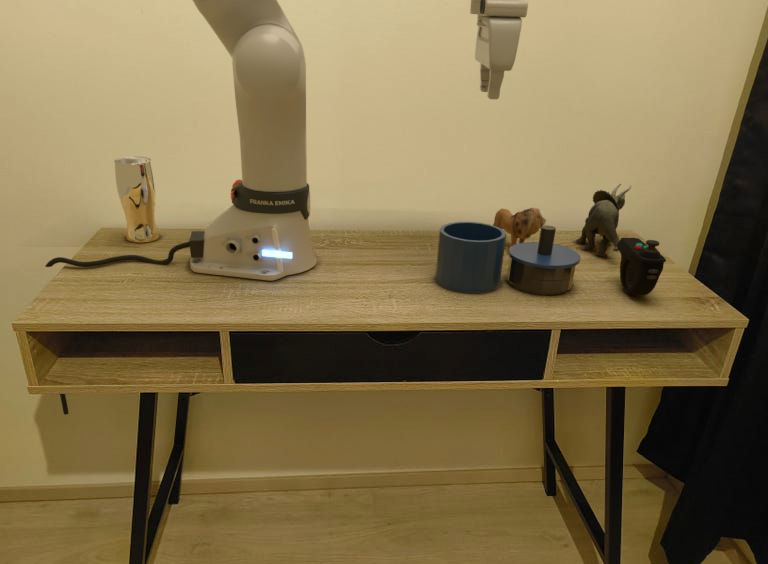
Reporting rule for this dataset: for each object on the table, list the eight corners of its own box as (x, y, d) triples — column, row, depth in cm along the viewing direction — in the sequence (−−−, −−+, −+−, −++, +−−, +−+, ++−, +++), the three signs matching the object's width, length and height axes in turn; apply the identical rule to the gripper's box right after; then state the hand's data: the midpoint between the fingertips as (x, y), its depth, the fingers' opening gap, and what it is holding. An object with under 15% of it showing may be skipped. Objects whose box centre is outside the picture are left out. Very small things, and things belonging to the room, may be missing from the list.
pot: (438, 292, 114) (442, 240, 109) (433, 268, 123) (437, 220, 119) (503, 294, 114) (510, 243, 109) (494, 271, 123) (500, 222, 119)
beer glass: (133, 231, 137) (123, 155, 130) (166, 233, 136) (158, 157, 129) (118, 242, 131) (106, 162, 124) (152, 244, 130) (142, 165, 123)
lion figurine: (544, 254, 132) (552, 209, 128) (525, 259, 130) (532, 212, 125) (492, 233, 143) (498, 191, 139) (473, 237, 140) (478, 194, 136)
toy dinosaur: (615, 270, 126) (628, 210, 120) (569, 263, 128) (579, 204, 123) (620, 236, 144) (631, 183, 139) (579, 231, 146) (588, 178, 141)
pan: (512, 294, 114) (516, 266, 111) (502, 271, 123) (506, 245, 121) (578, 297, 114) (583, 269, 111) (563, 273, 123) (567, 247, 121)
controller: (632, 305, 111) (646, 247, 106) (606, 278, 122) (618, 223, 117) (658, 306, 111) (673, 247, 107) (630, 278, 122) (642, 224, 117)
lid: (514, 271, 111) (519, 237, 108) (502, 247, 122) (506, 216, 119) (587, 273, 111) (594, 240, 108) (569, 249, 122) (575, 218, 119)
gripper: (471, 1, 118) (463, 87, 124) (487, 2, 100) (477, 102, 106) (507, 3, 118) (498, 88, 124) (530, 4, 100) (517, 103, 106)
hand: (488, 95), depth 115 cm, fingers open, 8 cm apart
